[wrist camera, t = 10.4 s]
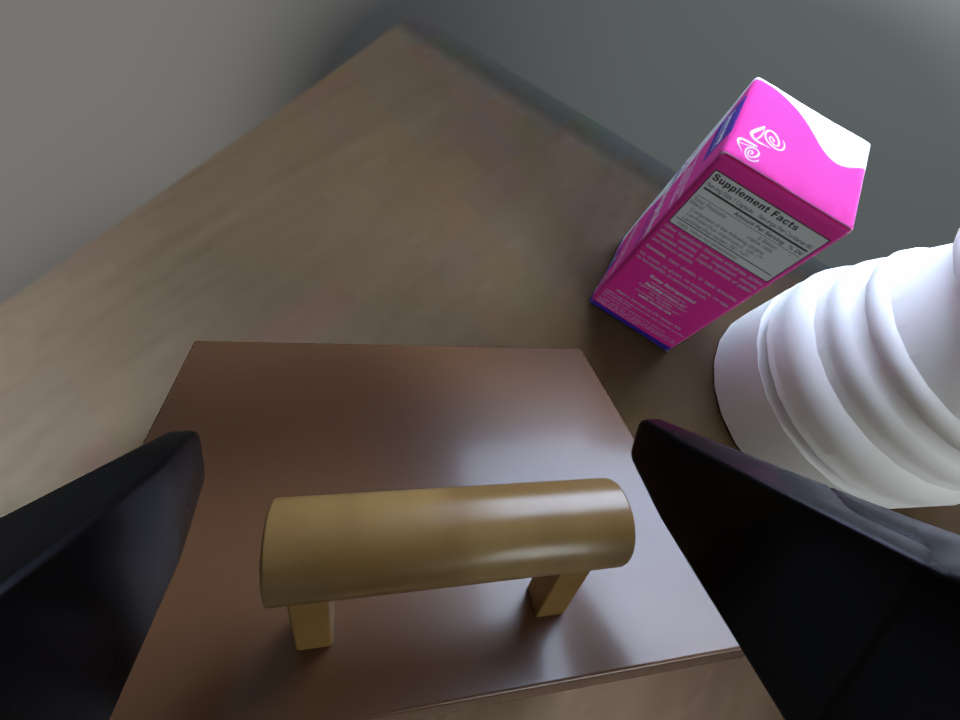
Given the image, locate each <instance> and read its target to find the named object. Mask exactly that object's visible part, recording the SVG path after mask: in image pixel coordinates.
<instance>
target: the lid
mask: <svg viewBox="0 0 960 720" xmlns="http://www.w3.org/2000/svg"><path fill="white" fill-rule="evenodd" d="M171 431H195V432H197V433H198V435H199V437H200V441H201V448H202V454H203V461H204V467H205V478H204V483H203V486H202V489H201V493H200V496H199V499H198V503H197V506H196V509H195V512H194V516H193V519H192V522H191V526H190V529H189V532H188V535H187V539H186V542H185V545H184V548H183V551H182V554H181V557H180V560H179V563H178V565H177V568H176V570H175V572H174V575H173V577H172V579H171V582H170V584H169V586H168V588H167V591H166V593H165V595H164V597H163V600H162V602H161V604H160V606H159V609H158V611H157V613H156V615H155V618H154V620H153V622H152V625H151V627H150V629H149V631H148V634H147V636H146V638H145V640H144V643H143V645H142V647H141V649H140V652H139V654H138V656H137V658H136V661H135V663H134V665H133V667H132V670H131V672H130V674H129V677H128V679H127V681H126V683H125V686H124V688H123V690H122V692H121V695H120V697H119V699H118V701H117V704H116V706H115V708H114V710H113V713H112V715H111V717H110V719H109V720H413V719H418V718H423V717H428V716H434V715H439V714H444V713H449V712H455V711H460V710H465V709H471V708H476V707H481V706H486V705H492V704H497V703H502V702H508V701H513V700H518V699H523V698H529V697H534V696H539V695H545V694H550V693H555V692H560V691H566V690H571V689H576V688H581V687H587V686H592V685H597V684H603V683H608V682H613V681H618V680H624V679H629V678H634V677H640V676H645V675H650V674H655V673H661V672H666V671H671V670H677V669H682V668H687V667H692V666H698V665H703V664H708V663H713V662H719V661H724V660H729V659H735V658H740V657H743V656H744V655H745V654H744V653H743V651H742V649H741V648H740V646H739V645H738V643H737V641H736V640H735V638H734V636H733V635H732V633H731V632H730V630H729V628H728V627H727V625H726V623H725V622H724V620H723V619H722V617H721V615H720V614H719V612H718V610H717V609H716V607H715V606H714V604H713V602H712V601H711V599H710V597H709V596H708V594H707V593H706V591H705V589H704V588H703V586H702V584H701V583H700V581H699V580H698V578H697V576H696V575H695V573H694V571H693V570H692V568H691V567H690V565H689V563H688V562H687V560H686V558H685V557H684V555H683V554H682V552H681V550H680V549H679V547H678V545H677V544H676V542H675V541H674V539H673V537H672V536H671V534H670V532H669V531H668V529H667V528H666V526H665V524H664V522H663V521H662V519H661V517H660V515H659V513H658V512H657V510H656V508H655V506H654V504H653V502H652V500H651V497H650V495H649V493H648V491H647V489H646V487H645V485H644V483H643V481H642V479H641V477H640V475H639V473H638V471H637V469H636V467H635V465H634V463H633V460H632V456H631V450H632V446H633V443H634V438H633V436H632V434H631V433H630V431H629V429H628V428H627V426H626V424H625V423H624V421H623V419H622V418H621V416H620V414H619V413H618V411H617V409H616V408H615V406H614V404H613V402H612V401H611V399H610V397H609V396H608V394H607V392H606V391H605V389H604V387H603V386H602V384H601V382H600V381H599V379H598V377H597V376H596V374H595V372H594V370H593V369H592V367H591V365H590V364H589V362H588V360H587V359H586V357H585V355H584V354H583V352H582V350H581V349H558V348H509V347H461V346H412V345H364V344H315V343H266V342H218V341H195V342H194V344H193V346H192V348H191V350H190V352H189V354H188V356H187V358H186V360H185V362H184V364H183V366H182V368H181V370H180V372H179V374H178V376H177V378H176V380H175V382H174V384H173V386H172V388H171V390H170V392H169V394H168V396H167V398H166V400H165V402H164V404H163V405H162V407H161V409H160V411H159V413H158V415H157V417H156V419H155V421H154V423H153V425H152V427H151V429H150V431H149V433H148V435H147V437H146V439H145V441H144V443H143V445H144V444H146V443H148V442H150V441H152V440H154V439H156V438H158V437H160V436H162V435H164V434H166V433H168V432H171Z"/></svg>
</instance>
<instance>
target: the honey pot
mask: <svg viewBox="0 0 960 720" xmlns="http://www.w3.org/2000/svg"><path fill="white" fill-rule="evenodd" d="M714 387H715V391H716V395H717V399H718V403H719V407H720V411H721V415H722V417H723V419H724V421H725V423H726V425H727V427H728V429H729V431H730V433H731V435H732V438H733V440H734V442H735V443H736V445H737V446H738V447H739V449H740V450H741V451H742V452H743V453H746V454H748V455H751V456H754V457H756V458H759V459H761V460H764V461H766V462H769V463H771V464H774V465H776V466H779V467H781V468H784V469H786V470H789V471H792V472H794V473H797V474H799V475H802V476H804V477H807V478H809V479H812V480H814V481H817V482H819V483H822V484H824V485H827V486H828V487H829V488H835V489H837V490H840V491H842V492H845V493H847V494H850V495H852V496H855V497H858V498H860V499H863V500H865V501H868V502H871V503H873V504H876V505H878V506H881V507H884V508H886V509H895V508H913V507H931V506H949V505H957V504H960V227H959V229H958V232H957V235H956V237H955V240H954V242H953V243H950V244H947V245H942V246H937V247H933V248H925V247H916V248H912V249H907V250H901V251H898V252H895V253H893V254H891V255H890V256H889V257H887V258H878V259H873V260H869V261H864V262H861V263H858V264H856V265H854V266H842V267H837V268H832V269H827V270H824V271H821V272H818V273H816V274H813V275H812V276H810V277H809V278H807V279H806V280H805V281H803V282H801V283H798V284H796V285H795V286H794V287H792V288H790V289H788V290H786V291H784V292H782V293H781V294H779V295H777V296H776V297H774V298H772V299H770V300H769V301H767V302H765V303H764V304H762V305H760V306H759V307H757V308H755V309H753V310H752V311H750V312H748V313H747V314H745V315H744V316H742V317H741V318H739V319H738V320H736V321H735V322H733V323H732V324H730V326H729V327H728V329H727V330H726V332H725V333H724V335H723V336H722V338H721V339H720V341H719V345H718V348H717V352H716V356H715V360H714Z"/></svg>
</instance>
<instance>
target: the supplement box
mask: <svg viewBox="0 0 960 720" xmlns="http://www.w3.org/2000/svg"><path fill="white" fill-rule="evenodd" d="M870 146H871V145H870V143H868V142H867V141H865V140H864V139H862V138H860V137H858V136H857V135H855V134H853V133H851V132H850V131H848V130H846V129H844V128H843V127H841V126H839V125H837V124H835V123H833V122H832V121H830V120H829V119H827V118H825V117H824V116H822V115H820V114H819V113H817V112H815V111H813V110H812V109H810V108H809V107H807V106H805V105H804V104H802V103H801V102H799V101H797V100H796V99H794V98H793V97H791V96H790V95H788V94H786V93H785V92H783V91H781V90H780V89H778V88H777V87H775V86H774V85H772V84H770V83H769V82H767V81H765V80H763V79H762V78H760V77H757V78H755V79H754V80H753V81H752V82H751V84H750V85H749V86H748V87H747V89H746V90H745V91H744V92H743V93H742V95H741V96H740V97H739V98H738V100H737V101H736V102H735V103H734V105H733V106H732V107H731V108H730V109H729V110H728V112H727V113H726V114H725V115H724V117H723V118H722V119H721V120H720V121H719V123H718V124H717V125H716V126H715V127H714V129H713V130H712V131H711V132H710V133H709V134H708V136H707V137H706V138H705V139H704V140H703V142H702V143H701V144H700V145H699V147H698V148H697V149H696V150H695V151H694V153H693V154H692V155H691V156H690V157H689V159H688V160H687V161H686V162H685V163H684V165H683V166H682V167H681V168H680V169H679V171H678V172H677V173H676V174H675V175H674V177H673V178H672V179H671V180H670V182H669V183H668V184H667V185H666V186H665V188H664V189H663V190H662V191H661V193H660V194H659V195H658V196H657V197H656V199H655V200H654V201H653V202H652V203H651V205H650V206H649V207H648V208H647V209H646V211H645V212H644V213H643V214H642V215H641V217H640V218H639V219H638V220H637V222H636V223H635V224H634V225H633V226H632V228H631V229H630V230H629V231H628V233H627V234H626V235H625V236H624V238H623V239H622V240H621V242H620V244H619V246H618V249H617V251H616V253H615V255H614V257H613V259H612V261H611V263H610V265H609V266H608V268H607V270H606V272H605V274H604V276H603V278H602V279H601V281H600V283H599V285H598V286H597V288H596V290H595V291H594V293H593V294H592V296H591V298H590V299H589V301H590V302H591V303H592V304H594V305H595V306H597V307H599V308H600V309H602V310H603V311H605V312H607V313H608V314H610V315H611V316H613V317H614V318H616V319H617V320H619V321H621V322H622V323H624V324H625V325H627V326H628V327H630V328H631V329H633V330H635V331H636V332H638V333H639V334H641V335H642V336H644V337H645V338H647V339H648V340H650V341H651V342H653V343H654V344H656V345H657V346H659V347H660V348H662V349H663V350H664V351H669V350H670V349H671V348H673V347H674V346H676V345H677V344H679V343H680V342H682V341H684V340H685V339H687V338H688V337H690V336H691V335H693V334H694V333H696V332H697V331H699V330H700V329H702V328H703V327H705V326H707V325H708V324H710V323H711V322H713V321H714V320H716V319H717V318H719V317H721V316H722V315H724V314H725V313H727V312H728V311H730V310H731V309H733V308H735V307H736V306H737V305H739V304H741V303H742V302H744V301H745V300H747V299H748V298H750V297H751V296H753V295H754V294H756V293H757V292H759V291H761V290H762V289H764V288H765V287H767V286H768V285H770V284H771V283H773V282H774V281H776V280H777V279H779V278H781V277H782V276H784V275H785V274H787V273H788V272H790V271H791V270H793V269H795V268H796V267H798V266H799V265H801V264H802V263H804V262H805V261H807V260H808V259H810V258H812V257H813V256H815V255H816V254H818V253H819V252H821V251H822V250H824V249H825V248H827V247H828V246H830V245H831V244H833V243H834V242H836V241H838V240H839V239H841V238H842V237H844V236H846V235H847V234H849V233H850V232H851V231H852V230H853V227H854V222H855V217H856V212H857V207H858V202H859V197H860V193H861V188H862V183H863V178H864V174H865V170H866V165H867V160H868V154H869V150H870Z"/></svg>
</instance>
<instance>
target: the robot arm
mask: <svg viewBox="0 0 960 720" xmlns="http://www.w3.org/2000/svg"><path fill="white" fill-rule="evenodd" d="M631 456H632V460H633V463H634V465H635V467H636V469H637V471H638V473H639V475H640V477H641V479H642V481H643V483H644V485H645V487H646V489H647V491H648V493H649V495H650V497H651V500H652V502H653V504H654V506H655V508H656V510H657V512H658V513H659V515H660V517H661V519H662V521H663V522H664V524H665V526H666V528H667V529H668V531H669V532H670V534H671V536H672V537H673V539H674V541H675V542H676V544H677V545H678V547H679V549H680V550H681V552H682V554H683V555H684V557H685V558H686V560H687V562H688V563H689V565H690V567H691V568H692V570H693V571H694V573H695V575H696V576H697V578H698V580H699V581H700V583H701V584H702V586H703V588H704V589H705V591H706V593H707V594H708V596H709V597H710V599H711V601H712V602H713V604H714V606H715V607H716V609H717V610H718V612H719V614H720V615H721V617H722V619H723V620H724V622H725V623H726V625H727V627H728V628H729V630H730V632H731V633H732V635H733V636H734V638H735V640H736V641H737V643H738V645H739V646H740V648H741V649H742V651H743V653H744V654H745V656H746V658H747V659H748V661H749V662H750V664H751V666H752V667H753V669H754V671H755V672H756V674H757V675H758V677H759V679H760V680H761V682H762V684H763V685H764V687H765V688H766V690H767V692H768V693H769V695H770V697H771V698H772V700H773V701H774V703H775V705H776V706H777V708H778V709H779V711H780V713H781V714H782V716H783V718H784V719H785V720H960V535H958V534H955V533H952V532H950V531H947V530H944V529H941V528H938V527H936V526H933V525H930V524H927V523H924V522H922V521H919V520H916V519H913V518H911V517H908V516H905V515H903V514H900V513H897V512H894V511H892V510H889V509H886V508H884V507H881V506H878V505H876V504H873V503H871V502H868V501H865V500H863V499H860V498H858V497H855V496H852V495H850V494H847V493H845V492H842V491H840V490H837V489H835V488H829V487H828V486H827V485H824V484H822V483H819V482H817V481H814V480H812V479H809V478H807V477H804V476H802V475H799V474H797V473H794V472H792V471H789V470H786V469H784V468H781V467H779V466H776V465H774V464H771V463H769V462H766V461H764V460H761V459H759V458H756V457H754V456H751V455H748V454H746V453H743V452H741V451H738V450H736V449H733V448H731V447H728V446H726V445H723V444H721V443H718V442H716V441H713V440H711V439H708V438H705V437H703V436H700V435H698V434H695V433H693V432H690V431H688V430H685V429H683V428H680V427H678V426H675V425H673V424H670V423H667V422H665V421H662V420H659V419H648V420H643V421H641V422H640V424H639V426H638V429H637V432H636V436H635V439H634V443H633V446H632V450H631ZM204 478H205V467H204V461H203V454H202V448H201V441H200V437H199V435H198V433H197V432H195V431H171V432H168V433H166V434H164V435H162V436H160V437H158V438H156V439H154V440H152V441H150V442H148V443H146V444H144V445H142V446H140V447H139V448H137V449H135V450H133V451H131V452H129V453H127V454H125V455H123V456H121V457H119V458H117V459H115V460H113V461H111V462H109V463H107V464H105V465H103V466H101V467H99V468H98V469H96V470H94V471H92V472H90V473H88V474H86V475H84V476H82V477H80V478H78V479H76V480H74V481H72V482H70V483H68V484H66V485H64V486H62V487H60V488H58V489H56V490H55V491H53V492H51V493H49V494H47V495H45V496H43V497H41V498H39V499H37V500H35V501H33V502H31V503H29V504H27V505H25V506H23V507H21V508H19V509H17V510H15V511H14V512H12V513H10V514H8V515H6V516H4V517H2V518H0V720H109V719H110V717H111V715H112V713H113V710H114V708H115V706H116V704H117V701H118V699H119V697H120V695H121V692H122V690H123V688H124V686H125V683H126V681H127V679H128V677H129V674H130V672H131V670H132V667H133V665H134V663H135V661H136V658H137V656H138V654H139V652H140V649H141V647H142V645H143V643H144V640H145V638H146V636H147V634H148V631H149V629H150V627H151V625H152V622H153V620H154V618H155V615H156V613H157V611H158V609H159V606H160V604H161V602H162V600H163V597H164V595H165V593H166V591H167V588H168V586H169V584H170V582H171V579H172V577H173V575H174V572H175V570H176V568H177V565H178V563H179V560H180V557H181V554H182V551H183V548H184V545H185V542H186V539H187V535H188V532H189V529H190V526H191V522H192V519H193V516H194V512H195V509H196V506H197V503H198V499H199V496H200V493H201V489H202V486H203V483H204Z"/></svg>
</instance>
